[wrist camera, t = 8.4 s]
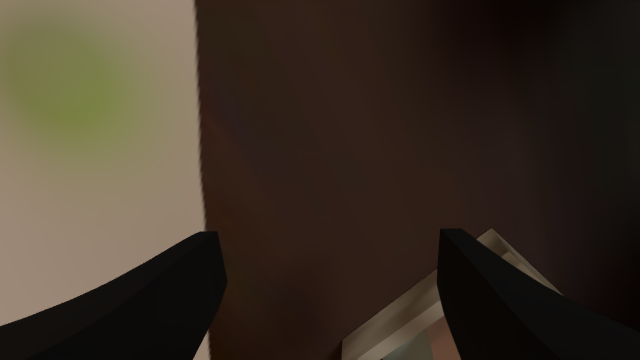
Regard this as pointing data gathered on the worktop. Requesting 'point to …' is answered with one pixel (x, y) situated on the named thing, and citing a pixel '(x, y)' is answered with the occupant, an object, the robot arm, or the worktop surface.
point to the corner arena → (418, 315)
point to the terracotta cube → (442, 341)
